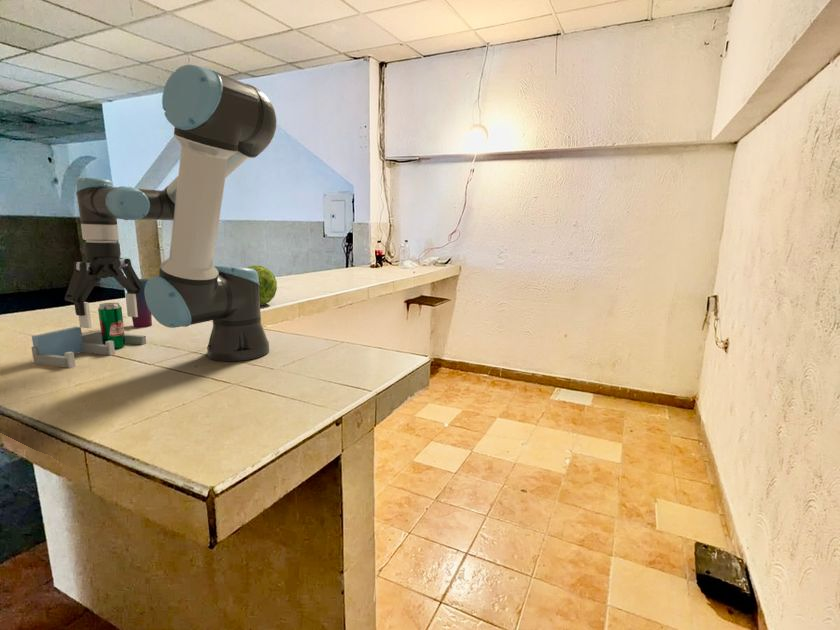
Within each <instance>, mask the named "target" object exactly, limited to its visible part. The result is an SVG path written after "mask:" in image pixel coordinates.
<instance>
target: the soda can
mask: <svg viewBox="0 0 840 630" xmlns="http://www.w3.org/2000/svg"><path fill="white" fill-rule="evenodd" d="M97 312H98V319H99V328H100V330H101V336H102V344H103V345H106V343H105V342H106V341H114V349H115V350H120V349H122V348H125V347H126V345H127V343H126V342H125V334H126V332H125V327H124V318H123V317H124V316H123V309H122V306H121V305H120V303H119V302H104V303H100V304H99V306H98V307H97Z"/></svg>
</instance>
